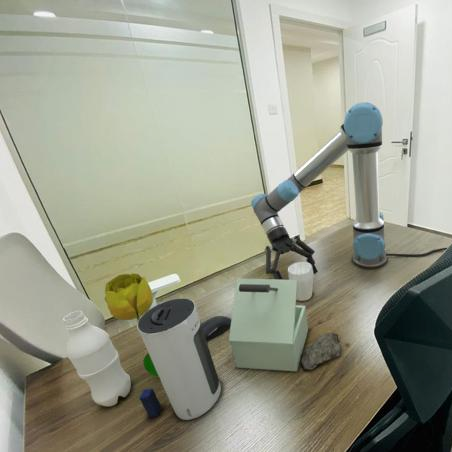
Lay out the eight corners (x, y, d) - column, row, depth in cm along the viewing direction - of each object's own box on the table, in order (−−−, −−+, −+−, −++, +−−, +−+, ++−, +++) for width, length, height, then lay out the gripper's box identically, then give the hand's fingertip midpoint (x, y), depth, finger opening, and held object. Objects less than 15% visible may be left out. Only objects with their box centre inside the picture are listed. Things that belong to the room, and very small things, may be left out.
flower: (141, 376, 69) (96, 280, 57) (175, 356, 74) (139, 265, 62) (149, 397, 63) (101, 296, 52) (185, 375, 68) (148, 278, 57)
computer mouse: (242, 337, 79) (239, 327, 78) (178, 371, 69) (174, 360, 68) (228, 316, 88) (225, 307, 87) (170, 344, 78) (166, 334, 77)
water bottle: (111, 383, 67) (69, 305, 57) (140, 380, 67) (103, 302, 58) (89, 412, 60) (37, 329, 51) (121, 408, 61) (76, 326, 51)
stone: (305, 374, 67) (304, 366, 66) (294, 351, 74) (293, 343, 73) (352, 353, 72) (352, 345, 71) (338, 333, 79) (338, 325, 78)
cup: (311, 304, 92) (308, 275, 87) (287, 302, 94) (283, 273, 89) (318, 289, 100) (315, 262, 96) (295, 287, 102) (292, 260, 97)
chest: (257, 327, 83) (252, 303, 79) (308, 329, 81) (305, 305, 77) (236, 367, 70) (229, 341, 66) (297, 371, 68) (293, 344, 64)
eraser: (162, 407, 61) (153, 387, 58) (158, 417, 59) (148, 396, 56) (153, 408, 60) (143, 388, 58) (148, 418, 58) (137, 398, 56)
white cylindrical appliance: (212, 419, 58) (180, 328, 48) (164, 424, 57) (121, 334, 47) (226, 375, 67) (202, 293, 58) (185, 380, 67) (154, 297, 57)
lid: (238, 278, 70) (221, 276, 62) (297, 280, 68) (288, 277, 60) (230, 340, 66) (211, 345, 58) (293, 343, 64) (282, 349, 56)
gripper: (299, 226, 110) (323, 270, 105) (242, 245, 95) (267, 298, 90) (305, 217, 104) (331, 264, 99) (246, 236, 89) (272, 292, 84)
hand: (301, 280), depth 94 cm, fingers open, 13 cm apart
